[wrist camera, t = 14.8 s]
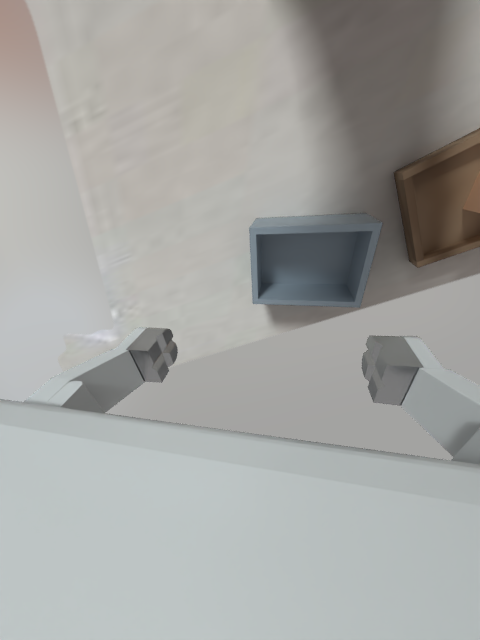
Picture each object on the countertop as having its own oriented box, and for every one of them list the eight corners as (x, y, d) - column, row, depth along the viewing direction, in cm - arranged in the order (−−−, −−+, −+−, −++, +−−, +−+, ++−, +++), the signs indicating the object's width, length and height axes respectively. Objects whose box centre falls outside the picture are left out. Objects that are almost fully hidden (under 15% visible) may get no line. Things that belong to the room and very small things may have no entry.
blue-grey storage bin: (256, 218, 32) (249, 227, 27) (366, 213, 29) (382, 222, 24) (258, 285, 38) (252, 303, 32) (349, 286, 35) (359, 307, 29)
